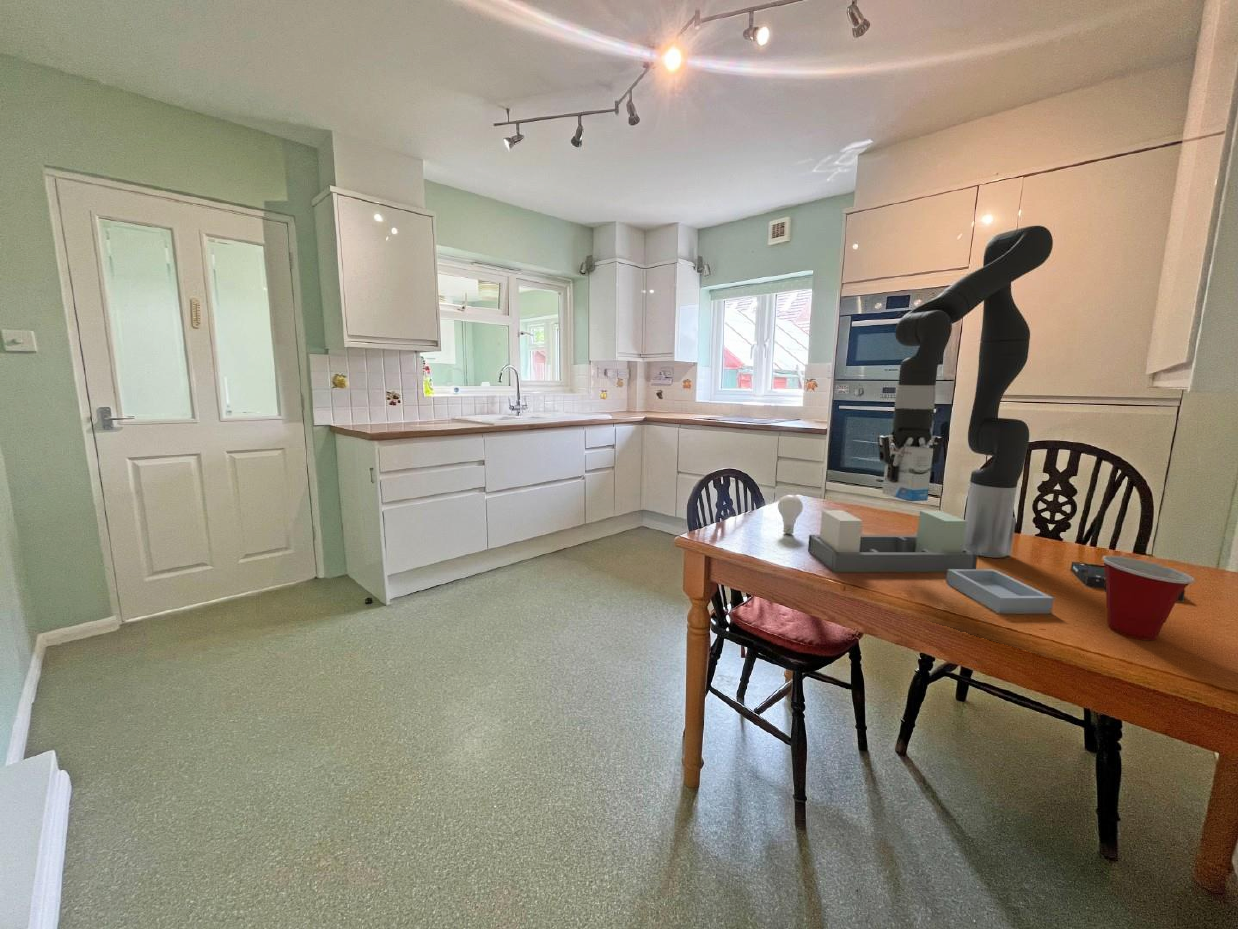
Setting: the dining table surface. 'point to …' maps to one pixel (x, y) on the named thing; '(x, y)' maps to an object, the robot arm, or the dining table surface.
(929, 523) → the sage block
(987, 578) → the tray
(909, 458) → the ink box
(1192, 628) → the dining table surface
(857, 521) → the cream block
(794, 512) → the lightbulb
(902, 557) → the holder
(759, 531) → the dining table surface
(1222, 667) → the dining table surface
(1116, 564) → the plastic cup
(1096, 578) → the disk drive
